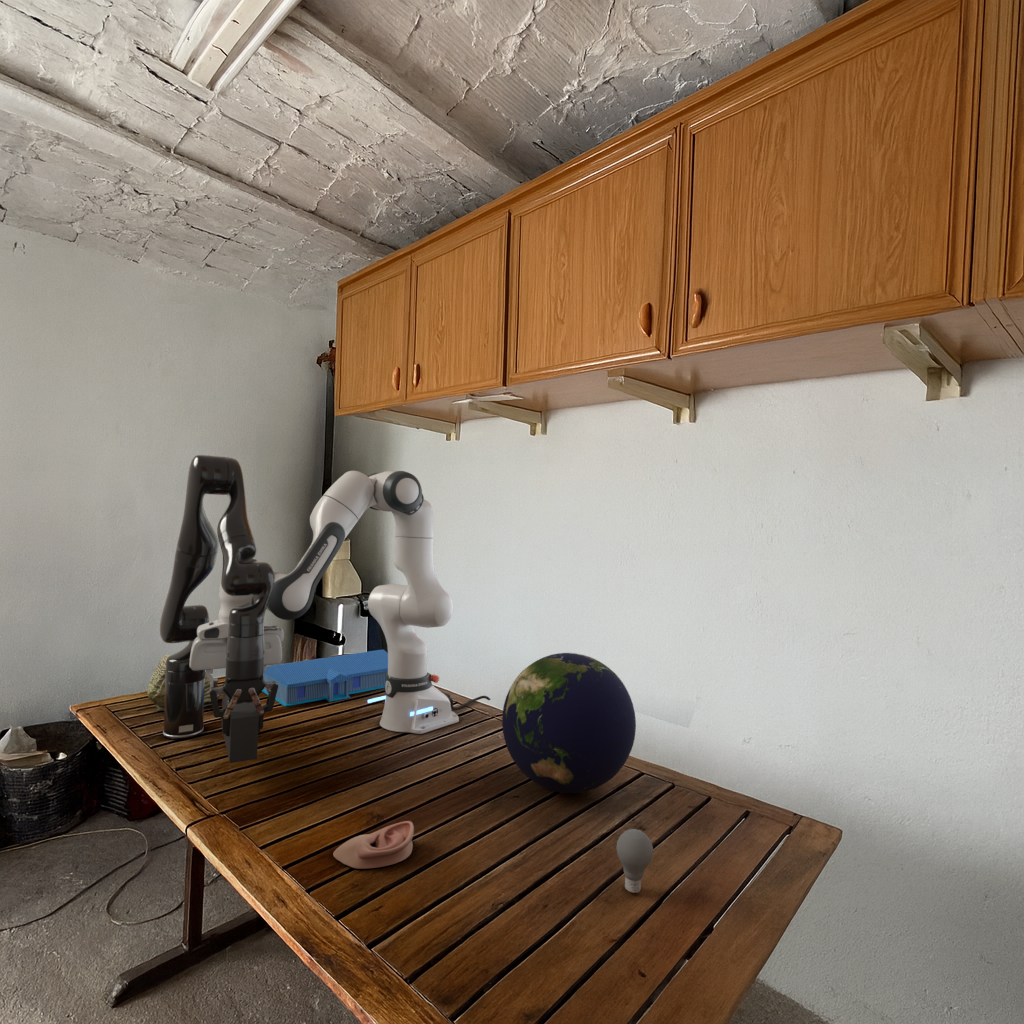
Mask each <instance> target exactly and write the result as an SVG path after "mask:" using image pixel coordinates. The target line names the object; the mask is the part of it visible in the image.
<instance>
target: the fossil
mask: <svg viewBox="0 0 1024 1024" xmlns="http://www.w3.org/2000/svg"><path fill="white" fill-rule="evenodd" d="M171 655H172V654H165V655H164V656H163V657H162V658H161V659H160V660H159V662H158V663H157V666H156V667H155V669H154V670H153V672H152V675H151V677H150V680H149V684H148V688H147V697H148V699H149V700H150V701H152V703H153V704H154V706H155V711H158V712H159V711H162V712H163V711H164V705H165V674H166V660H167V658H168V657H169V656H171ZM210 688H211V681H210V679H209V678H208V676H207V674H206V671H205V693H204V707H207V706H212V703H211V698H210V693H209V689H210ZM216 688H217V687H216ZM219 699H220V697H219V698H217V700H218V701H219Z"/></svg>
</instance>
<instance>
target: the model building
mask: <svg viewBox="0 0 1024 1024" xmlns="http://www.w3.org/2000/svg"><path fill="white" fill-rule="evenodd" d="M387 673H388V651H386V650H385V649H376V650H368V651H363V652H356V653H349V654H342V655H341V654H340V655H335V656H329V657H328V656H327V657H321V658H315V659H314V658H313V659H307V660H300V661H293V662H287V663H279V664H274V665H267V666H266V671H265V672H264V674H263V679H264V681H265V682H270V683H272V682H273V681H275V682H276V683H277V685H278V690H277V694H276V698H275V702H277V703H279V704H280V705H282V706H283V707H290V706H297V705H302V704H307V703H312V702H317V701H323V700H325V701H327V702H329V703H330V702H335V701H341V700H346V699H347V700H348V699H350V698H351V695H353V694H359V693H364V692H365V693H366V692H369V691H373V690H381V689H385V683H386V674H387ZM266 689H267V688H266V687H265V688H264V689H263V690H262V693H264V694H265V695H267V696H268V694H269V693H268V692H267V690H266Z"/></svg>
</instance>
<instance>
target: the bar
mask: <svg viewBox="0 0 1024 1024" xmlns="http://www.w3.org/2000/svg"><path fill="white" fill-rule="evenodd" d="M228 698H229V697H228V696H227V695H226V693H225V692H224V691H223V692H222V701H221V703H222V704H221V710H224V708H225V706H226V703H227V701H228ZM229 717H230V735H229V736H226V734H223V733H222V736H223V739H224V745H225V749H226V753H227V757H228V763H229V764H233V763H234V764H235V763H240V762H247V761H248V762H249V761H255V760H258V748H259V747H258V743H259V732H258V721H259V715H258V713H257V710H256V707H255V705H254V703H253V701H252V702H250V703H246V702H243V703H240V704H236V705H235V707H234V709H233V710H232V712H231V714H230V716H229ZM221 728H222V723H221Z"/></svg>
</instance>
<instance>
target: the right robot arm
mask: <svg viewBox="0 0 1024 1024" xmlns="http://www.w3.org/2000/svg"><path fill="white" fill-rule="evenodd" d="M368 509H371V510H375V511H382V512H389V513H391V514H392V516H393V518H394V525H395V526H394V536H393V552H392V554H393V555H392V562H393V565H394V567H395V568H396V569H397V570H398V571H400V572H401V573H402V574H403V575H404V577H405V579H406V582H407V585H406V584H398V583H397V584H396V583H388V584H381V585H377V586H375V587H374V588H373V589H372V591H371V592H370V593H369V596H368V600H367V608H368V611H369V614H370V616H372V617H373V618H374V620H376V621H377V623H378V625H379V626H380V627H381V630H382V632H383V636H384V637H385V641H386V645H387V647H386V648H387V653H388V673H387V674H386V683H385V688H384V691H385V695H383V696H379V697H373V698H370V699H367V704H371V703H373V702H379V701H383V700H384V706H383V710H382V714H381V717H380V721H379V726H380V727H381V728H383V729H385V730H387V731H390V732H397V733H411V734H417V735H422V734H426V733H429V732H432V731H435V730H438V729H441V728H444V727H447V726H450V725H454V724H457V723H459V721H460V718H459V715H458V714H457V713H456V712H455V711H457V710H461V709H462V708H464V707H467V706H469V705H470V704H472V703H475V702H476V701H479V700H482V699H486V700H487V701H491V698H490V697H489V696H488V695H480V696H478V697H475V698H472V699H470V700H468V701H467V702H465V703H462V704H461V705H459V706H456V707H455V706H454V700H453V699H452V698H451V694H449V693H446V692H444V691H441V690H439V689H438V688H436V686H434V685H433V683H435V684H438V683H439V681H440V676H439V675H436V674H434V673H433V674H431V673H430V672H428V661H429V660H428V659H429V648H428V645H427V643H426V641H424V639H422V638H420V637H419V635H418V634H417V633H416V631H415V627H419V628H420V627H421V628H426V629H429V628H440V627H444V626H446V625H447V624H448V623H449V621H450V620H451V619H452V616H453V614H454V613H453V612H454V602H453V599H452V597H451V595H450V594H449V593H448V592H447V591H446V590H445V589H444V588H443V586H442V585H441V584H440V581H439V579H438V577H437V574H436V571H435V567H434V565H435V564H434V541H435V539H434V538H435V521H434V520H435V519H434V510H433V506H432V504H431V503H430V502H429V501H428V500H426V499H425V497H424V494H423V489H422V486H421V483H420V480H419V479H418V478H417V477H416V476H415V475H414V474H413V473H411V472H408V471H404V470H385V471H383V472H374V473H372V474H369V475H366V474H365V473H363V472H361V471H359V470H348V471H346V472H344V473H343V474H342V475H341V476H340V477H339V478H338V479H336V480H335V481H334V483H332V484H331V485H330V487H329V488H328V489H327V490H326V491H325V493H324V494H323V495H322V496H321V498H320V499H319V500H318V501H317V503H316V504H315V506H314V507H313V509H312V510H311V511H312V512H311V514H310V515H309V524H310V525H309V526H310V527H311V530H312V541H311V544H309V547H308V548H307V550H306V551H305V553H304V555H302V557H301V559H300V560H299V561H298V563H297V564H296V566H295V568H294V569H293V570H292V571H291V572H289V573H286V572H283V571H279V570H276V569H273V571H274V575H275V580H274V585H273V589H272V591H271V594H270V597H269V600H268V604H267V607H266V611H268V612H270V613H271V614H273V615H274V616H275V617H276V618H277V619H280V620H282V621H283V620H284V621H291V620H296V619H298V618H300V617H302V616H303V615H305V614H306V613H307V612H308V611H309V609H310V608H311V605H312V604H313V600H314V597H315V592H316V589H317V587H318V584H319V582H320V581H321V579H322V578H323V576H324V575H325V573H326V571H327V570H328V568H329V567H330V565H331V563H332V562H333V560H334V559H335V557H336V555H337V554H338V552H339V551H340V549H341V547H342V545H343V543H344V541H345V540H346V538H347V537H348V535H350V533H351V531H352V530H353V528H354V527H355V525H356V524H357V523H358V522H359V520H360V519H361V517H362V516H363V514H364V513H365V512H366V511H367V510H368ZM251 562H259V561H258V560H257V559H256V558H253V559H252V560H250V561H248V562H246V563H251ZM220 574H221V575H220V578H221V577H222V573H220ZM218 592H219V593H218V599H219V602H220V607H219V611H218V616H217V617H218V619H215V620H212V621H209V623H206V624H203V625H200V626H199V627H198V628H197V636H198V637H196V638H195V640H194V641H193V644H192V648H191V653H190V663H189V666H190V668H191V669H192V670H194V671H195V670H205V672H206V674H207V676H208V678H209V679H210V681H211V687H214V688H216V687H219V679H218V678H214V676H213V675H212V674H213V673H214V670H219V669H220V670H221V669H226V651H227V641H228V633H229V613H230V611H231V610H232V609H233V608H235V607H238V606H241V605H244V604H246V603H248V602H249V601H250V600H251V598H252V596H253V595H246V596H230V595H228V594H227V593H226V592H225V591H224V590H223V588H222V585H221V579H220V581H219V590H218ZM263 634H264V649H265V654H264V671H263V674H264V672H265V671H266V667H267V666H272V665H278V664H281V662H282V661H283V646H282V643H283V641H284V638H285V631H284V630H283V628H282V627H279V626H278V625H264V633H263Z"/></svg>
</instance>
